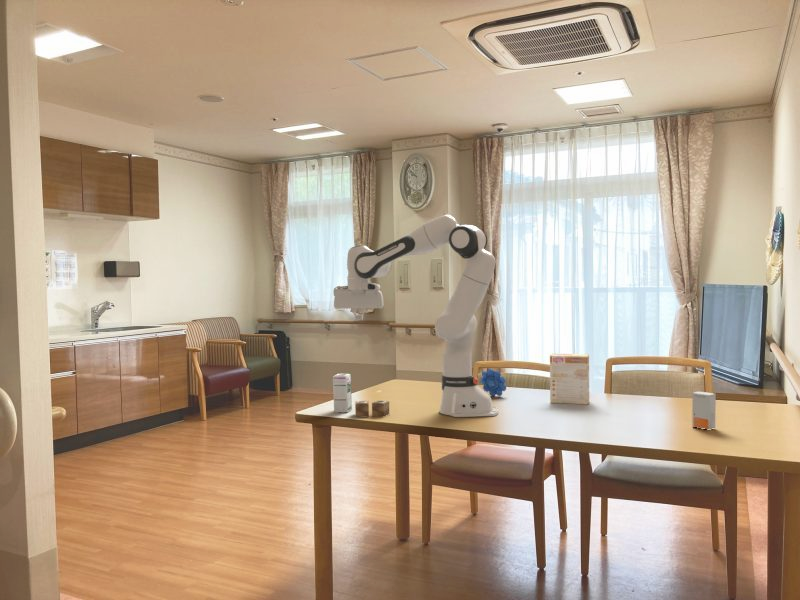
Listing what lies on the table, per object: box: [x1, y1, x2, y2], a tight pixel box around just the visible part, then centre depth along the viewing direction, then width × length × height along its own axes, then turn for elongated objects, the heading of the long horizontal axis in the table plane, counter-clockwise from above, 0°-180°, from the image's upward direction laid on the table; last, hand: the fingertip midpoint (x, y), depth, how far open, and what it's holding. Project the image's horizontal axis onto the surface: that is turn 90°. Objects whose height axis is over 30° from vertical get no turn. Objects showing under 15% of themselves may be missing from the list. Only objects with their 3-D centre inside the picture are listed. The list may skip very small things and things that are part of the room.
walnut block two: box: [371, 400, 390, 417], centre depth 247 cm, size 5×5×5 cm
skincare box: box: [691, 391, 717, 429], centre depth 218 cm, size 6×4×12 cm
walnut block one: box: [354, 400, 370, 417], centre depth 247 cm, size 5×5×5 cm
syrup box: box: [332, 372, 353, 413], centre depth 255 cm, size 6×6×14 cm
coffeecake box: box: [549, 353, 590, 405], centre depth 265 cm, size 15×7×20 cm, turn 69°
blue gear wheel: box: [479, 368, 507, 397], centre depth 280 cm, size 12×7×12 cm, turn 64°
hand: (359, 319), depth 265 cm, fingers closed
